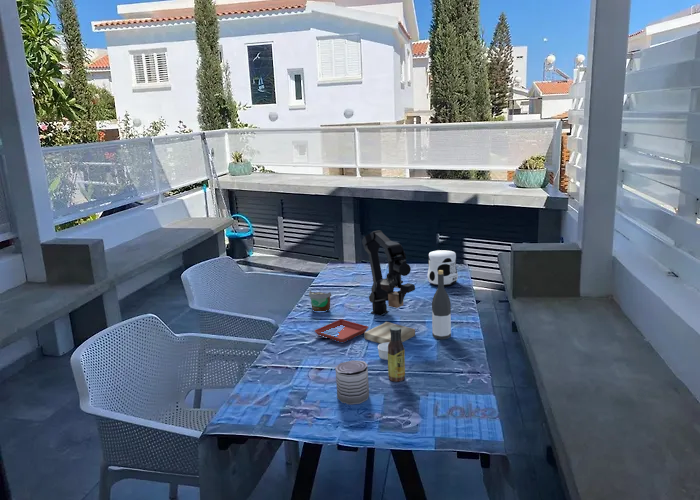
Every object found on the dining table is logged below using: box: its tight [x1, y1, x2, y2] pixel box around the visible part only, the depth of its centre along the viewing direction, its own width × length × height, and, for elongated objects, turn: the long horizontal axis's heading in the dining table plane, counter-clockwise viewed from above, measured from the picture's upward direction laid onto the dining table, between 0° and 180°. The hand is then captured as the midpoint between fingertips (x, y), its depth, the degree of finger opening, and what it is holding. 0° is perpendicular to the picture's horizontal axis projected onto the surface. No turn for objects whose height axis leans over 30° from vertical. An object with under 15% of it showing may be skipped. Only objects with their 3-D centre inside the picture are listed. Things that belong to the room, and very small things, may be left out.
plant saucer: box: [314, 318, 369, 343], centre depth 250 cm, size 18×18×3 cm
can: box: [334, 359, 370, 405], centre depth 192 cm, size 11×11×12 cm
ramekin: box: [377, 342, 389, 361], centre depth 224 cm, size 9×9×4 cm
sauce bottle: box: [387, 327, 406, 383], centre depth 202 cm, size 6×6×20 cm
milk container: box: [427, 249, 459, 287], centre depth 316 cm, size 17×17×18 cm
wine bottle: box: [431, 270, 452, 340], centre depth 239 cm, size 8×8×30 cm
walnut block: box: [387, 290, 405, 309], centre depth 256 cm, size 5×5×6 cm
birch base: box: [363, 321, 416, 344], centre depth 244 cm, size 16×16×3 cm
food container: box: [308, 290, 332, 311], centre depth 281 cm, size 12×6×10 cm, turn 68°
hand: (395, 303), depth 256 cm, fingers closed on walnut block, 5 cm apart
